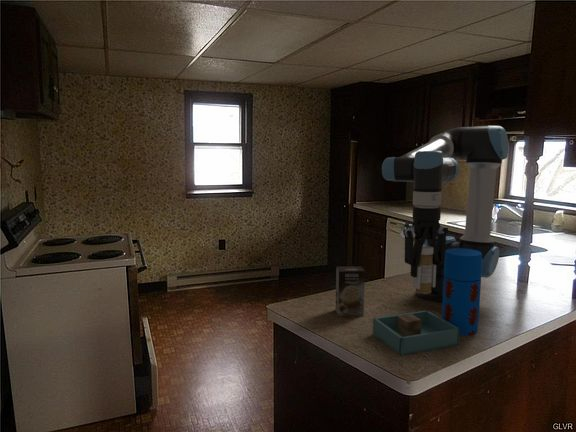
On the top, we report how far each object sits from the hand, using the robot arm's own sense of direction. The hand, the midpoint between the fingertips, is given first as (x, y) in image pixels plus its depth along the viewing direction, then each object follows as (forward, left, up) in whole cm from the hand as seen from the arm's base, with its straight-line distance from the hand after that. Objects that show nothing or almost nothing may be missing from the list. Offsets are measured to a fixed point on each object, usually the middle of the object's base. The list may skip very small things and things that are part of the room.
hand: (423, 286), depth 123 cm
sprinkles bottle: (0, 0, -2) cm, 2 cm away
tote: (0, -4, -18) cm, 18 cm away
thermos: (-18, -6, -18) cm, 26 cm away
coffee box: (+9, -30, -18) cm, 36 cm away
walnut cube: (0, -6, -17) cm, 18 cm away
